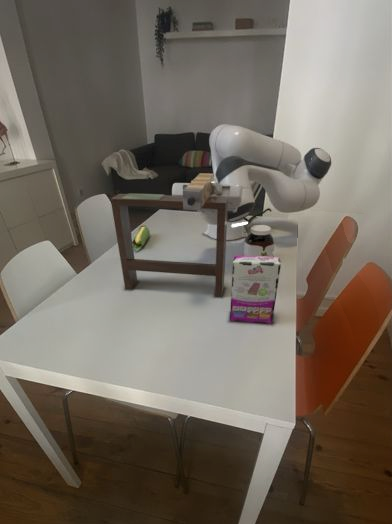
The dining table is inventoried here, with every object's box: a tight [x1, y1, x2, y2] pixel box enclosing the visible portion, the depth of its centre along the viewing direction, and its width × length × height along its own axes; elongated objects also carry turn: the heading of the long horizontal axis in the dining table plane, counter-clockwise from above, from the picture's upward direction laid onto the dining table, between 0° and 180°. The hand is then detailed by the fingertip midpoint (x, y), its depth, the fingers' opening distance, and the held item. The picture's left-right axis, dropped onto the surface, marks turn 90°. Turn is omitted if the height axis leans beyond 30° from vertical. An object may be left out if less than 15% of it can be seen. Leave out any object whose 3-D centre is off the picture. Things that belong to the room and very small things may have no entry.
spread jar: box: [243, 224, 276, 256], centre depth 113 cm, size 12×11×12 cm
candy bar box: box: [229, 254, 282, 325], centre depth 80 cm, size 11×5×16 cm, turn 82°
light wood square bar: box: [182, 172, 214, 211], centre depth 80 cm, size 23×4×4 cm, turn 170°
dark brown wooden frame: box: [110, 192, 228, 298], centre depth 90 cm, size 6×30×26 cm, turn 79°
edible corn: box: [132, 225, 151, 252], centre depth 129 cm, size 5×20×5 cm, turn 177°
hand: (203, 183), depth 84 cm, fingers closed on light wood square bar, 4 cm apart
